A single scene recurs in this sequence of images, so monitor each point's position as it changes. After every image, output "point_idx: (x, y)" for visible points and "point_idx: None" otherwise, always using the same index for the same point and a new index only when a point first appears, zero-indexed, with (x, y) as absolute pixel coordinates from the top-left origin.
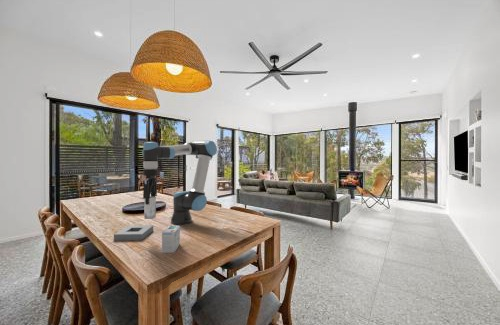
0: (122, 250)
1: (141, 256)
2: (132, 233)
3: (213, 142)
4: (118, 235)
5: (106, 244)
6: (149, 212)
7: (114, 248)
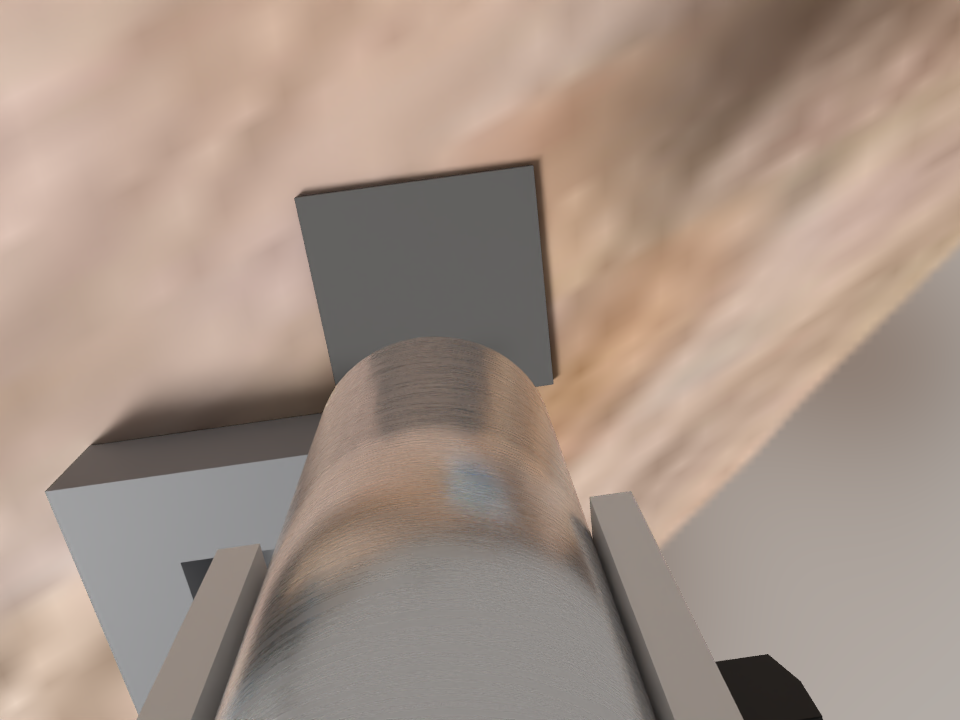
0: (688, 444)
1: (850, 161)
2: None
3: None
4: None
5: None
6: (571, 480)
7: None
